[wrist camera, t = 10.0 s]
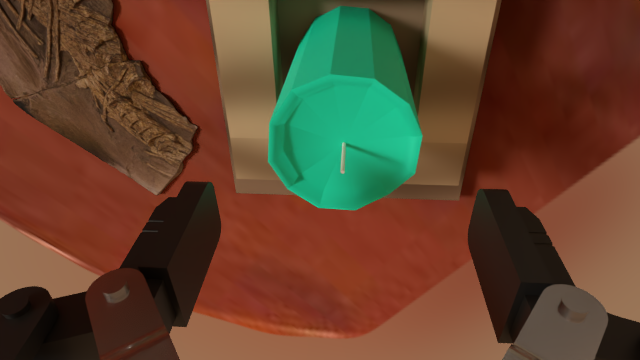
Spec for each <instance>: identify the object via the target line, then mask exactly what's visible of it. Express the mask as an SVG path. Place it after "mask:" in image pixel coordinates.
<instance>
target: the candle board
mask: <svg viewBox="0 0 640 360" xmlns="http://www.w3.org/2000/svg"><path fill="white" fill-rule="evenodd" d="M501 1H502V0H206V4H207V10H208V17H209V23H210V29H211V36H212V42H213V48H214V55H215V61H216V67H217V74H218V80H219V86H220V93H221V99H222V106H223V112H224V118H225V125H226V131H227V137H228V144H229V150H230V156H231V163H232V169H233V175H234V182H235V188H236V193H252V194H282V195H296V194H295V193H293V192H291V191H290V190H288V189H287V188H286V186H285V185H284V184H283V182H282V181H281V179H280V178H279V177H278V175H277V174H276V172H275V171H274V170H273V168H272V167H271V165H270V164H269V163H268V144H269V122H270V120H271V117H272V114H273V112H274V109H275V106H276V104H277V101H278V99H279V96H280V93H281V91H282V88H283V85H284V83H285V80H286V77H287V75H288V72H289V69H290V67H291V64H292V62H293V59H294V56H295V54H296V51H297V48H298V46H299V43H300V41H301V39H302V38H303V36H304V35H305V33H306V31H307V30H308V28H309V27H310V25H311V24H312V22H313V21H314V19H315V18H317V17H319V16H321V15H323V14H325V13H327V12H329V11H331V10H333V9H335V8H337V7H339V6H349V7H359V8H369V9H370V10H372V11H373V12H374V13H376V14H377V15H378V16H380V17H381V18H382V19H383V20H385V21H386V22H387V23H389V24H390V25H391V27H392V29H393V32H394V34H395V37H396V40H397V42H398V45H399V48H400V50H401V54H402V58H403V62H404V66H405V69H406V73H407V77H408V81H409V85H410V89H411V93H412V97H413V100H414V104H415V108H416V112H417V116H418V120H419V124H420V127H421V131H422V135H423V137H422V142H421V147H420V152H419V157H418V162H417V167H416V172H415V174H414V175H413V176H412V177H410V178H409V179H408V180H407V181H405V182H404V183H403V184H402V185H400V186H399V187H398V188H396V189H395V190H394V191H393V192H391V193H390V194H388V195H386V196H384V197H382V198H402V199H432V200H459V197H460V193H461V188H462V183H463V179H464V174H465V169H466V165H467V160H468V155H469V151H470V146H471V141H472V136H473V132H474V127H475V122H476V118H477V113H478V108H479V104H480V99H481V94H482V90H483V85H484V80H485V76H486V71H487V66H488V62H489V57H490V52H491V48H492V43H493V38H494V34H495V29H496V24H497V20H498V15H499V10H500V6H501Z"/></svg>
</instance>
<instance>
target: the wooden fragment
mask: <svg viewBox="0 0 640 360" xmlns="http://www.w3.org/2000/svg"><path fill="white" fill-rule="evenodd" d="M112 21H113V3H112V1H111V0H0V85H1V86H2V88H3V90H4V92H5V93H6V94H7V95H8V96H9V97H10V98H11V99H12V98H18V97H21V98H20V99H16V100H13V102H14V103H15V104H16V105H17V106H18V107H19V108H21V109H22V110H24V111H25V112H26V113H27V114H29V115H31V116H32V117H33V118H35V119H36V120H38V121H40V122H41V123H43V124H45V125H47V126H48V127H50V128H51V129H53V130H54V131H56V132H57V133H59V134H61V135H62V136H64V137H66V138H67V139H69V140H70V141H72V142H74V143H76V144H77V145H79V146H80V147H82V148H83V149H85V150H86V151H88V152H90V153H92V154H93V155H95V156H96V157H98V158H99V159H101V160H102V161H104V162H106V163H108V164H109V165H110V166H112V167H114V168H117V170H119V171H120V172H122V173H124V174H126V175H127V176H128V177H130V178H132V179H134V180H135V181H136V182H137V183H139V184H140V185H142V186H143V187H145V188H147V190H149V191H151V192H152V193H154V194H155V195H159V194H161V192H162V191H163V190H164V189H165V188H166V186H167V185H168V184H169V183H170V182H171V181H172V180H173V179H174V178H176V177H177V176H178V175H179V174H180V173H181V172H182V169H183V160H184V159H185V157H186V156H187V155H188V154H189V153H190V152H191V151H192V150H193V144H192V138H193V136H194V133H195V132H196V130H197V126H196V125H194V124H191V123H190V122H189V121H188V119H187V117H185V116H183V115H182V114H181V113H179V112H177V111H176V108H175V107H174V105H173V104H172V103H171V102H170V100H169V99H166V97H165V96H163V95H162V94H161V93H160V92H158V91H157V90H156V89H155V87H154V86H153V85H152V82H151V78H150V77H149V76H148V75H147V74H146V72H145V70H144V68H143V65H142V63H141V62H140V61H133V60H129V59H128V57H127V55H126V52H125V50H124V49H123V45H122V42H121V40H120V38H119V36H118V35H117V33H116V32H115V28H114V27H113V26H112V25H111V24H112Z"/></svg>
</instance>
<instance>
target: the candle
mask: <svg viewBox="0 0 640 360" xmlns="http://www.w3.org/2000/svg"><path fill="white" fill-rule="evenodd" d="M422 137H423V135H422V131H421V127H420V124H419V120H418V116H417V112H416V108H415V104H414V100H413V97H412V93H411V89H410V85H409V81H408V77H407V73H406V69H405V66H404V62H403V58H402V54H401V50H400V48H399V45H398V42H397V40H396V37H395V34H394V32H393V29H392V27H391V25H390V24H389V23H387V22H386V21H385V20H383V19H382V18H381V17H380V16H378V15H377V14H376V13H374V12H373V11H372V10H370V9H369V8H359V7H349V6H339V7H337V8H335V9H333V10H331V11H329V12H327V13H325V14H323V15H321V16H319V17H317V18H315V19H314V21H313V22H312V24H311V25H310V27H309V28H308V30H307V31H306V33H305V35H304V36H303V38H302V39H301V41H300V43H299V46H298V48H297V51H296V54H295V56H294V59H293V62H292V64H291V67H290V69H289V72H288V75H287V77H286V80H285V83H284V85H283V88H282V91H281V93H280V96H279V99H278V101H277V104H276V106H275V109H274V112H273V114H272V117H271V120H270V122H269V144H268V163H269V164H270V165H271V167H272V168H273V170H274V171H275V172H276V174H277V175H278V177H279V178H280V179H281V181H282V182H283V184H284V185H285V186H286V188H287V189H288V190H290V191H291V192H293V193H295V194H296V195H298V196H300V197H301V198H303V199H305V200H306V201H308V202H310V203H311V204H313V205H314V206H316V207H318V208H328V209H342V210H357V209H359V208H361V207H363V206H365V205H367V204H370V203H372V202H374V201H376V200H378V199H380V198H382V197H384V196H386V195H388V194H390V193H391V192H393V191H394V190H395V189H396V188H398V187H399V186H400V185H402V184H403V183H404V182H405V181H407V180H408V179H409V178H410V177H412V176H413V175H414V174H415V172H416V167H417V162H418V157H419V152H420V147H421V142H422Z"/></svg>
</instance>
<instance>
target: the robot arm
mask: <svg viewBox="0 0 640 360" xmlns="http://www.w3.org/2000/svg"><path fill="white" fill-rule="evenodd" d="M220 233H221V220H220V215H219V210H218V205H217V200H216V195H215V191H214V186H213V184H212V183H211V182H185V183H184V185H183V187H182V189H181V190H180V192H179V194H178V196H177V197H169V198H167V199H166V200H165V201H164V202H162V203H161V204H160V205H159V206H157V207H156V208H155V210H154V212H153V213H152V215H151V217H150V218H149V222H147V223H146V225H145V227H144V228H143V232H142V233H140V235H139V237H138V238H137V240H136V242H135V243H134V245H133V246H132V248H131V250H130V251H129V253H128V255H127V256H126V258H125V260H124V261H123V263H122V265H121V266H120V268H119V269H116V270H113V271H110V272H108V273H106V274H104V275H102V276H100V277H99V278H98V279H96V280H95V281H94V282H93V283H92V284H91V286H90V287H89V289H88V290H87V291H86V292H82V293H78V294H73V295H69V296H64V297H60V298H55V299H52V297H51V296H50V294H49V292H48V291H47V290H46V289H44V288H42V287H35V286H34V287H33V286H32V287H25V288H21V289H18V290H15V291H13V292H11V293H9V294H7V295H5V296H4V297H2V298H1V299H0V360H180V359H179V357H178V355H177V352H176V350H175V347H174V345H173V343H172V341H171V338H170V336H169V333H170V331H171V329H172V326H178V327H186V326H187V324H188V321H189V319H190V316H191V313H192V311H193V308H194V305H195V303H196V300H197V297H198V295H199V292H200V289H201V287H202V284H203V281H204V279H205V276H206V273H207V271H208V268H209V265H210V263H211V260H212V257H213V255H214V252H215V249H216V247H217V244H218V241H219V238H220ZM468 245H469V249H470V253H471V256H472V259H473V263H474V266H475V269H476V272H477V275H478V278H479V282H480V285H481V289H482V291H483V295H484V298H485V302H486V305H487V308H488V311H489V314H490V318H491V321H492V324H493V327H494V330H495V334H496V337H497V341H498V343H513V345H511V346H510V347H509V349H508V350H507V352H506V354H505V356H504V358H503V359H502V360H640V323H639V322H636V321H632V320H628V319H625V318H621V317H618V316H615V315H612V314H609V313H607V312H606V310H605V308H604V307H603V305H602V304H601V303H600V302H599V301H598V300H597V299H596V298H595V297H594V296H592V295H591V294H589V293H588V292H586V291H584V290H582V289H580V288H577V287H576V286H575V285H574V283H573V281H572V279H571V277H570V275H569V273H568V272H567V270H566V268H565V266H564V264H563V262H562V260H561V259H560V257H559V255H558V253H557V251H556V250H555V247H553V246H552V242H551V240H550V238H549V236H548V235H546V231H545V229H544V227H543V225H542V223H541V222H540V220H539V219H538V218H537V217H536V216H535V215H534V214H533V213H532V212H531V211H529V210H528V209H527V208H526V207H516V206H515V203H514V201H513V199H512V197H511V195H510V193H509V192H508V190H504V189H480V190H479V191H478V193H477V196H476V200H475V204H474V208H473V212H472V216H471V220H470V224H469V229H468Z"/></svg>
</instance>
